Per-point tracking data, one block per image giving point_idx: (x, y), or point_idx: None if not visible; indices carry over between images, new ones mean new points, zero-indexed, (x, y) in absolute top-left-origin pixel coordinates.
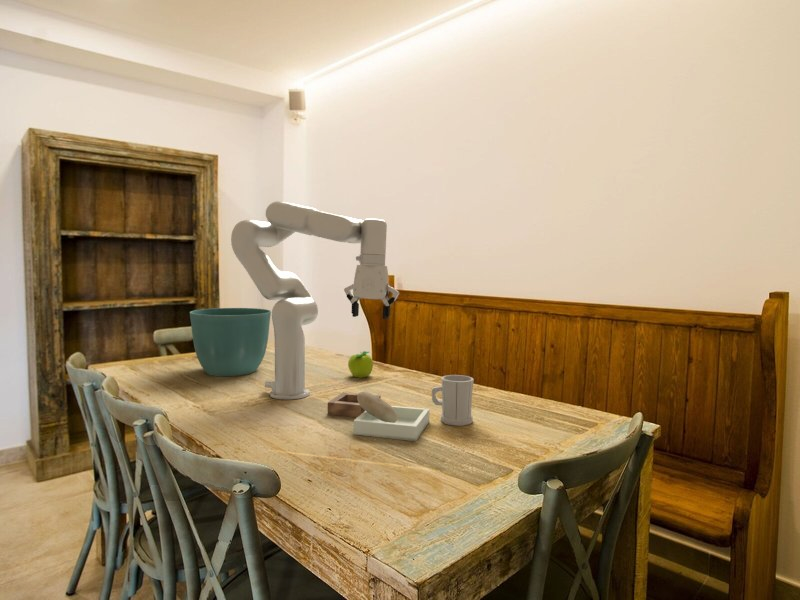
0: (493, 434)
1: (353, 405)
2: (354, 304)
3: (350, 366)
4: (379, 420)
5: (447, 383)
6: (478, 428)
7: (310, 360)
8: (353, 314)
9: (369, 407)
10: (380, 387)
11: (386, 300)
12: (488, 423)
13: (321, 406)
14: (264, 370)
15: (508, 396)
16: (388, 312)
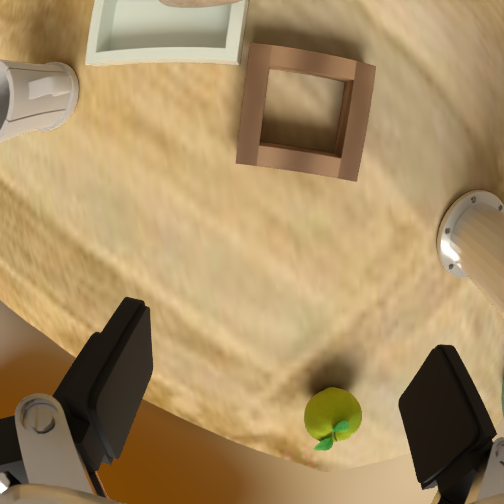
0: (5, 51)
1: (296, 49)
2: (482, 431)
3: (356, 402)
4: (213, 21)
5: (6, 61)
6: None
7: None
8: (452, 354)
9: None
10: (273, 337)
11: (24, 456)
12: None
13: (396, 141)
14: (491, 383)
15: (20, 297)
16: (82, 360)
